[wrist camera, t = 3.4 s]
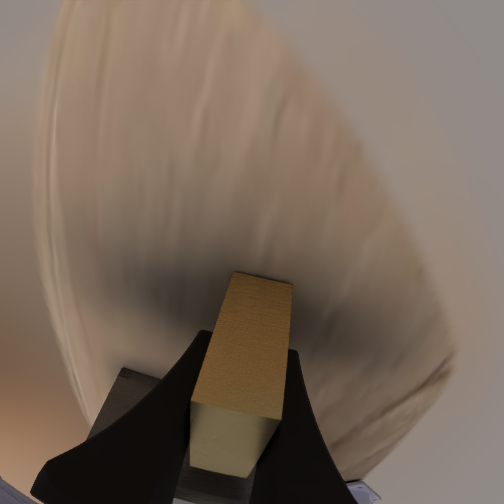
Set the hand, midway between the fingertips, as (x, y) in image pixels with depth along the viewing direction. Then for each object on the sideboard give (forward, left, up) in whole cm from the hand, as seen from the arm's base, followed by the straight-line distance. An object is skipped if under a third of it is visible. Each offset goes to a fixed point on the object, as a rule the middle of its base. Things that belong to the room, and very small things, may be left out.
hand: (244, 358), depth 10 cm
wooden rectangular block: (0, 0, -2) cm, 2 cm away
